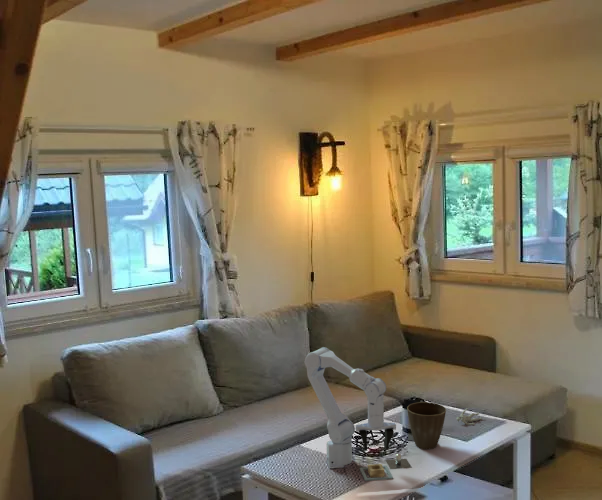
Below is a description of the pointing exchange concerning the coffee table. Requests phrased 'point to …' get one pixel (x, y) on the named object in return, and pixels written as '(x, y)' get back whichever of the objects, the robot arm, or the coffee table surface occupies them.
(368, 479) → the green square frame
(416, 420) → the plant pot
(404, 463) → the stake
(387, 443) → the robot arm
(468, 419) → the soldier figure
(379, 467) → the collar
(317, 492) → the coffee table surface
